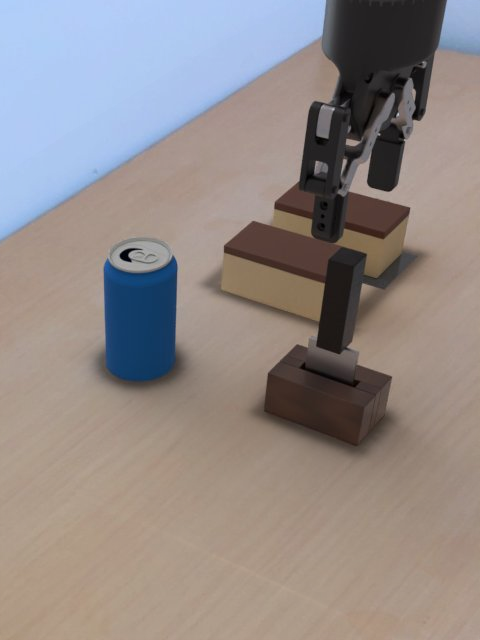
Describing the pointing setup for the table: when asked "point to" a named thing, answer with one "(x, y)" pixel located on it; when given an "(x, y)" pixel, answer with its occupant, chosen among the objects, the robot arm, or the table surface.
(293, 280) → the cake slice
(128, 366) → the beverage can
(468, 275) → the table surface
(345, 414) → the knife block
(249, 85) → the table surface
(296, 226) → the block
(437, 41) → the robot arm
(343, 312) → the knife
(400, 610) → the table surface
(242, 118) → the table surface
